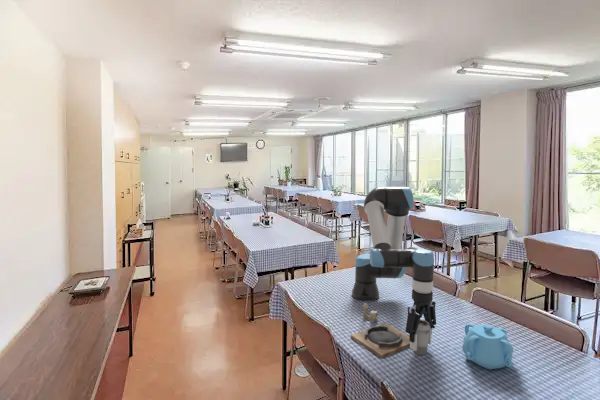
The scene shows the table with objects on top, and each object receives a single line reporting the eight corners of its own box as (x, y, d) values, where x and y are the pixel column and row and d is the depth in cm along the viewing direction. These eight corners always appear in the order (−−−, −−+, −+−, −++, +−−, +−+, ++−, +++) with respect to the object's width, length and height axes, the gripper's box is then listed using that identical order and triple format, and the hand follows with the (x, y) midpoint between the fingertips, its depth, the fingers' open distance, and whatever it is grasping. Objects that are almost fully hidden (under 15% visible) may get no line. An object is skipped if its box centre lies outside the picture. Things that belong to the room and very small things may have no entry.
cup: (427, 358, 125) (428, 328, 123) (409, 353, 128) (410, 324, 127) (431, 349, 131) (432, 321, 129) (413, 345, 134) (414, 317, 133)
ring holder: (384, 325, 151) (384, 319, 151) (416, 343, 136) (416, 336, 136) (350, 337, 141) (350, 331, 140) (381, 358, 125) (381, 351, 125)
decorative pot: (513, 379, 112) (516, 342, 111) (461, 366, 120) (463, 330, 119) (510, 355, 127) (512, 321, 125) (463, 345, 134) (465, 313, 133)
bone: (385, 318, 154) (376, 303, 152) (376, 328, 152) (367, 312, 149) (374, 312, 162) (365, 297, 159) (365, 322, 160) (356, 306, 157)
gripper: (431, 282, 135) (429, 334, 138) (396, 292, 125) (394, 349, 127) (447, 287, 129) (445, 342, 131) (412, 299, 118) (410, 358, 121)
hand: (420, 345), depth 129 cm, fingers open, 8 cm apart
